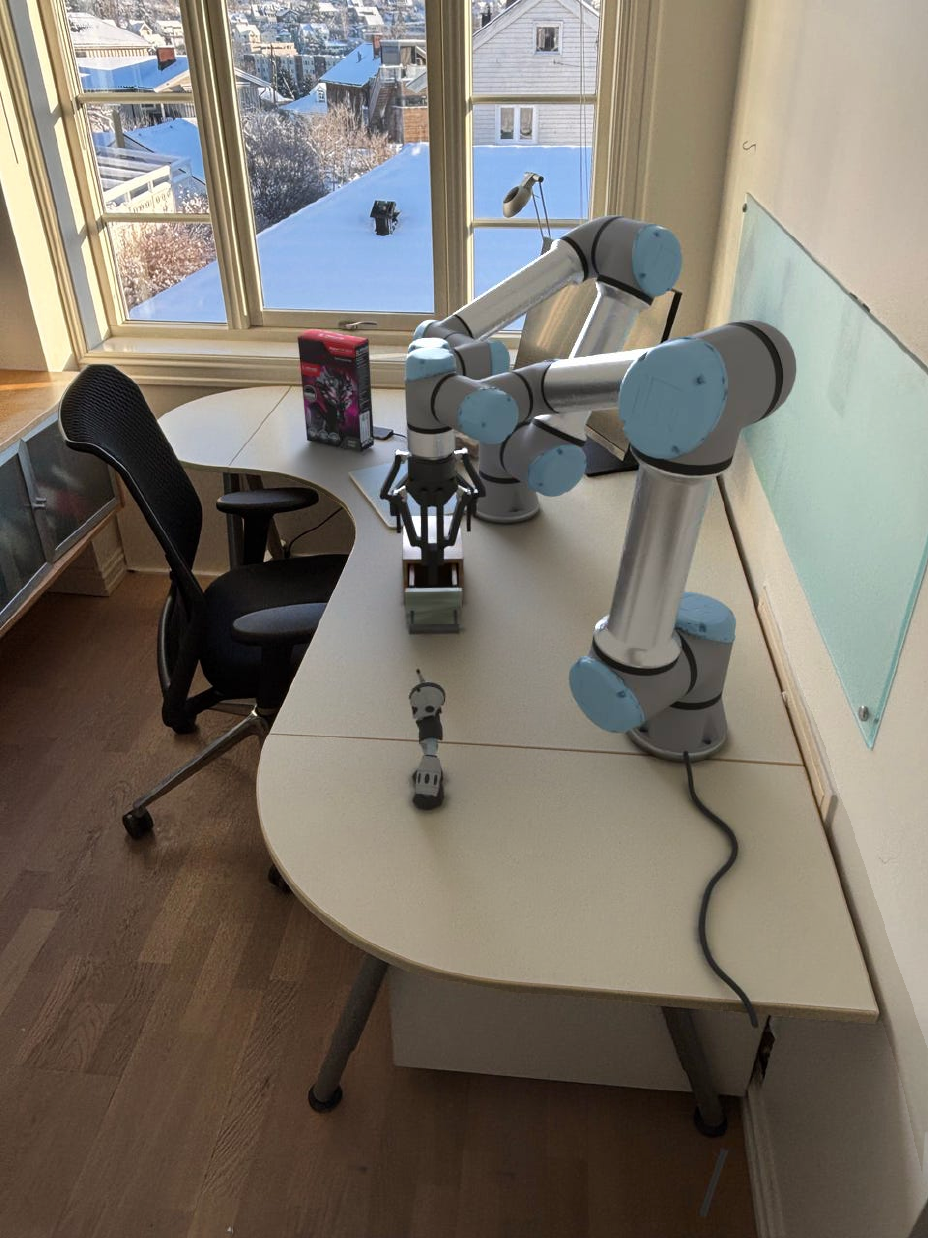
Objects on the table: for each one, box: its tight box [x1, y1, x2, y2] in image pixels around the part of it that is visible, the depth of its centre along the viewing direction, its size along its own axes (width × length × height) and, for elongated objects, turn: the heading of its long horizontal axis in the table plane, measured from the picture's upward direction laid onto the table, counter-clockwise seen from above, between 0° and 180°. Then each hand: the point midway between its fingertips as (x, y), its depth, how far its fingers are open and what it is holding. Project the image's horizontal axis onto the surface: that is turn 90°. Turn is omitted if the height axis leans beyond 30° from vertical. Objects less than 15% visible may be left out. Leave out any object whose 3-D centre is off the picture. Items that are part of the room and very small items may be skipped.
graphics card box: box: [297, 328, 375, 454], centre depth 227 cm, size 17×7×27 cm, turn 62°
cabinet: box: [401, 515, 464, 605], centre depth 177 cm, size 17×11×10 cm, turn 2°
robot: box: [408, 668, 446, 810], centre depth 126 cm, size 20×5×20 cm, turn 3°
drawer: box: [404, 563, 463, 636], centre depth 166 cm, size 22×10×8 cm, turn 2°
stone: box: [454, 430, 479, 458], centre depth 231 cm, size 21×15×6 cm
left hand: (433, 529), depth 180 cm, fingers open, 13 cm apart
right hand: (432, 580), depth 156 cm, fingers closed
